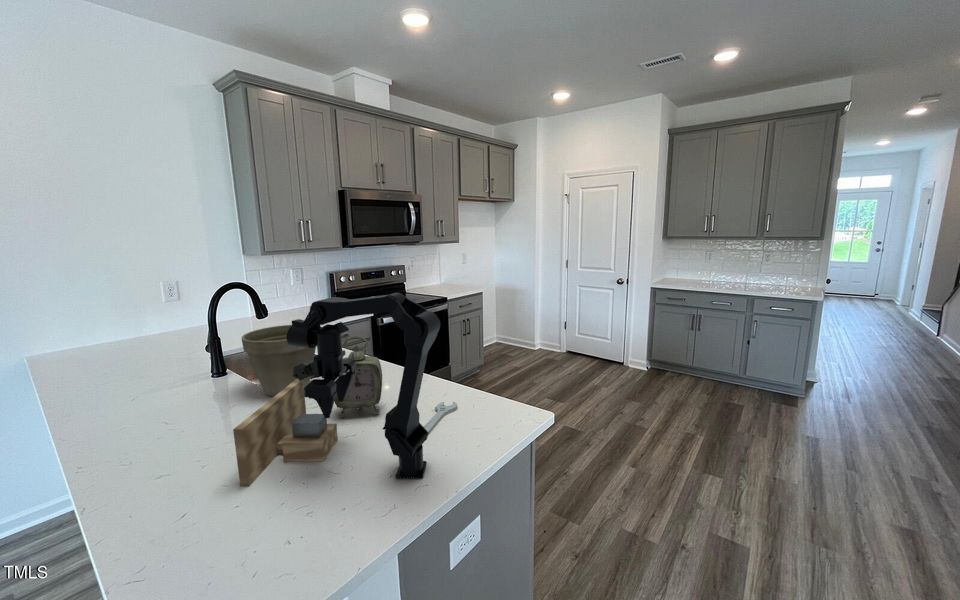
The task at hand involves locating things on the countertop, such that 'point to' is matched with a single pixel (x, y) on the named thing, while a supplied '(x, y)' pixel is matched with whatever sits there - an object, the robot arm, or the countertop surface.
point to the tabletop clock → (362, 381)
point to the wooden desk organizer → (278, 435)
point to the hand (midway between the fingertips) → (334, 409)
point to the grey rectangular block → (309, 426)
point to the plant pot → (275, 357)
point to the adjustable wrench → (440, 415)
